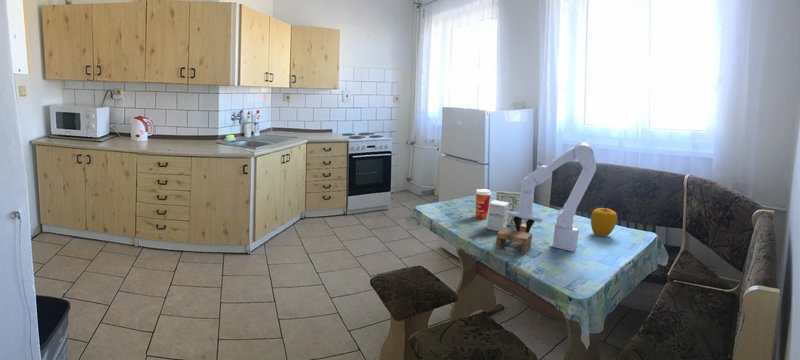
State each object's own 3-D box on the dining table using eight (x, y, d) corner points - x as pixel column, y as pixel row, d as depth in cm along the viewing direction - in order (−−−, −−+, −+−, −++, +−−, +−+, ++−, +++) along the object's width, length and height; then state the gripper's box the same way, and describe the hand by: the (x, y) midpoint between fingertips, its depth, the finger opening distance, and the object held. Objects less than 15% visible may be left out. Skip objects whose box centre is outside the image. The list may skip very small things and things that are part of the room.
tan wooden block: (527, 238, 198) (529, 225, 196) (514, 250, 183) (516, 236, 181) (520, 236, 199) (522, 223, 198) (507, 248, 184) (508, 235, 183)
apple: (617, 240, 200) (621, 213, 197) (591, 238, 202) (595, 210, 199) (611, 232, 210) (615, 206, 207) (586, 230, 212) (590, 203, 209)
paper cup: (470, 216, 226) (472, 189, 223) (483, 214, 229) (485, 188, 226) (479, 220, 219) (481, 193, 216) (492, 219, 222) (494, 192, 219)
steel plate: (517, 252, 182) (517, 249, 182) (513, 256, 178) (513, 253, 178) (505, 249, 185) (505, 246, 185) (501, 253, 181) (501, 250, 180)
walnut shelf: (530, 248, 186) (532, 233, 185) (524, 254, 179) (526, 239, 178) (502, 241, 192) (503, 227, 191) (495, 247, 185) (497, 232, 184)
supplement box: (486, 229, 207) (489, 203, 204) (491, 225, 214) (493, 199, 211) (502, 232, 204) (505, 205, 201) (506, 228, 210) (509, 202, 207)
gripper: (545, 205, 192) (541, 235, 195) (512, 199, 199) (509, 228, 202) (541, 209, 186) (537, 240, 189) (507, 203, 193) (504, 233, 196)
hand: (522, 234), depth 195 cm, fingers closed on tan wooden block, 3 cm apart
